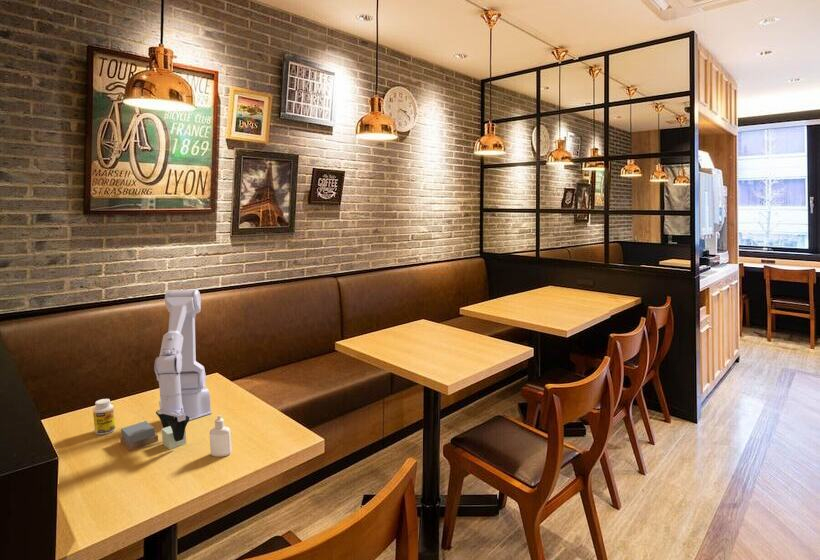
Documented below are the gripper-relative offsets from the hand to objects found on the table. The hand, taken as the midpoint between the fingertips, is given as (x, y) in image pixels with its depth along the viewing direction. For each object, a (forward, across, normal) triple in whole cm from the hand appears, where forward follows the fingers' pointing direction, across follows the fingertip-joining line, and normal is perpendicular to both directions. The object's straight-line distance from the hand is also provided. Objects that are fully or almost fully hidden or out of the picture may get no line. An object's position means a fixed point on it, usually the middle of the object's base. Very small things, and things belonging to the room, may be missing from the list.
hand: (173, 436), depth 148 cm
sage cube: (+3, 0, 0) cm, 3 cm away
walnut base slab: (+3, -9, -7) cm, 12 cm away
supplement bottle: (+3, -24, -12) cm, 27 cm away
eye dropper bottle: (+3, +16, +7) cm, 18 cm away
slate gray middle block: (+1, -9, -7) cm, 11 cm away
